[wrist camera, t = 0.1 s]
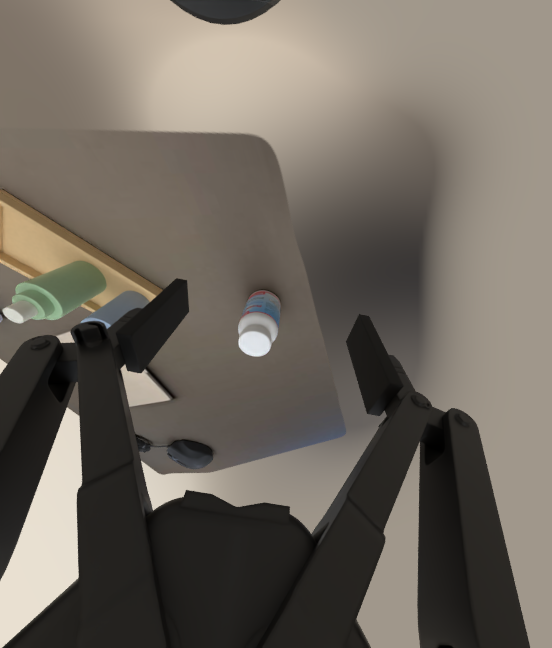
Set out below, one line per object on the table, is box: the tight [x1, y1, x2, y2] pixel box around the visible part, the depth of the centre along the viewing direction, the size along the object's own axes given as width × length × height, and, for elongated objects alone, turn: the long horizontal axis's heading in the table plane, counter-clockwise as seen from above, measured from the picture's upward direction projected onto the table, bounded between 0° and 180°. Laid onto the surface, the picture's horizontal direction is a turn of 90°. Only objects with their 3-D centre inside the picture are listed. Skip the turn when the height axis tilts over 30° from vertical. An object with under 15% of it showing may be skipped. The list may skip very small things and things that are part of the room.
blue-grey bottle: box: [81, 291, 149, 329], centre depth 36 cm, size 6×6×12 cm
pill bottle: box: [238, 290, 281, 356], centre depth 35 cm, size 6×6×11 cm
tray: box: [0, 190, 163, 313], centre depth 38 cm, size 28×12×2 cm, turn 52°
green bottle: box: [3, 261, 107, 323], centre depth 33 cm, size 6×6×12 cm
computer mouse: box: [136, 438, 213, 469], centre depth 71 cm, size 10×32×6 cm, turn 81°
